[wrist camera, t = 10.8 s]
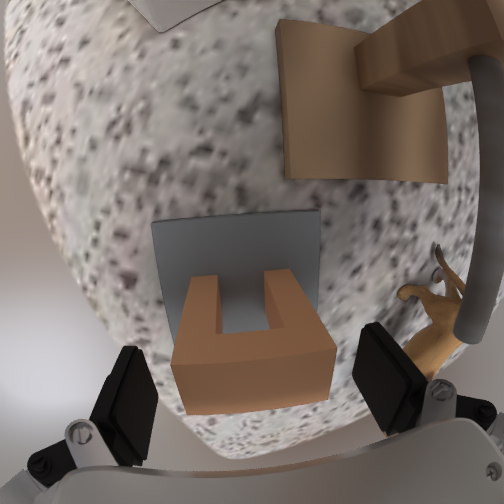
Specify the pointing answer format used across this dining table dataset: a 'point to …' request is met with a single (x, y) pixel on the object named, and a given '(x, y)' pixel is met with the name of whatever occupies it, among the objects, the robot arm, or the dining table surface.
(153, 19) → the medicine bottle
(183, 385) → the c link
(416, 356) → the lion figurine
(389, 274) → the dining table surface
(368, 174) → the stand
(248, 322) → the slate mat
